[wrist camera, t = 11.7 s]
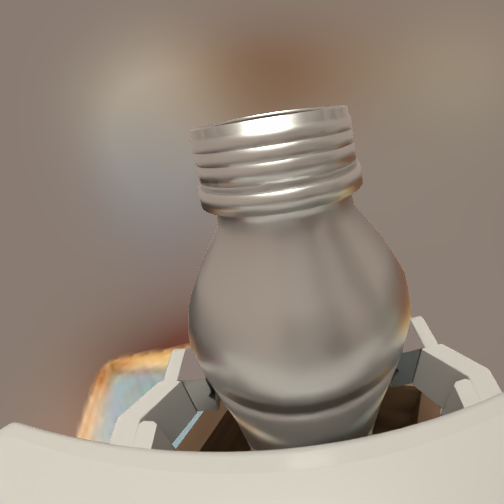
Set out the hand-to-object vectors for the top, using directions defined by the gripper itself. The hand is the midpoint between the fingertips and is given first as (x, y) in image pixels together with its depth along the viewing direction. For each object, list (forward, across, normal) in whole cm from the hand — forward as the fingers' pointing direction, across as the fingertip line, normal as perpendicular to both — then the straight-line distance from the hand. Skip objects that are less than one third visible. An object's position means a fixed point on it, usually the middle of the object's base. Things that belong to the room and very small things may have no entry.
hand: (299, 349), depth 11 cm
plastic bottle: (-1, 0, +12) cm, 12 cm away
